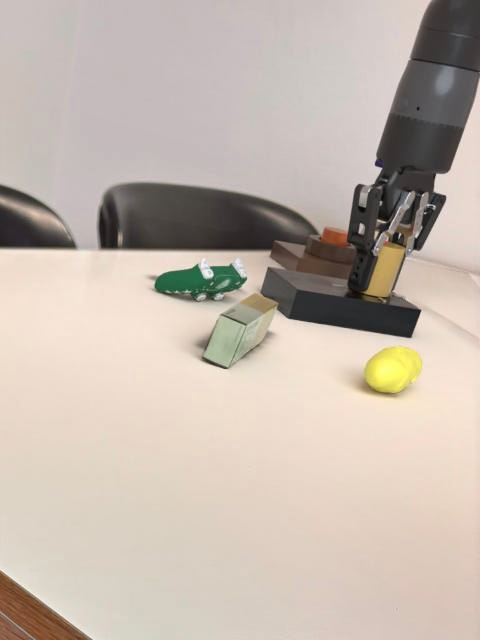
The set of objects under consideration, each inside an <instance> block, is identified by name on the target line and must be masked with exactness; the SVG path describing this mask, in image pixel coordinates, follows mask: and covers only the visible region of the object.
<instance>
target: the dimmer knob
mask: <svg viewBox="0 0 480 640" xmlns="http://www.w3.org/2000/svg"><path fill="white" fill-rule="evenodd" d="M374 241H375V239H374ZM405 251H406V248H404V247H403V246H400V245H397V244H394V243H391V242H388V240H386V241H385V243H384V245H383V247H382V249H381V251H380V253H379V254H378V255H377V257H378V260H377V263H376V266H375V269H374V272H373V275H372V278H371V281H370V284H369V287H368V289H367V290H366V291H364V292H360V293H363V294H367V295H371V296H376V297H389V295H390V292H391V290H392V287H393V284H394V281H395V278H396V276H397V273H398V270H399V267H400V264H401V262H402V259H403V256H404V253H405ZM353 290H354V289H353ZM355 291H356V290H355ZM357 292H359V291H357Z"/></svg>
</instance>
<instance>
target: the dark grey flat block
mask: <svg viewBox="0 0 480 640" xmlns="http://www.w3.org/2000/svg"><path fill="white" fill-rule="evenodd" d="M347 283H348V280H345V279H339V278H333V277H327V276H321V275H316V274H310V273H304V272H298V271H292V270H287V269H285V268H280V267H279V268H278V267H273V266H267V268H266V272H265V275H264V279H263V282H262V286H261V289H260V292H259V293H260V294H259V295H261V296H262V295H263V296H264V297H266V298H268V299H271V300H273V301H275V302H277V303H279V304H278V307H277V309H276V310H278V311H279V312H281V313H282V314H283V315H284V317H286V318H287V319H289V320H297V321H302V322H308V323H309V322H310V323H315V324H322V325H328V326H333V327H340V328H345V329H346V328H347V329H351V330H352V329H353V330H357V331H358V330H359V331H364V332H365V331H367V332H371V333H378V334H384V335H389V336H390V335H391V336H396V337H403V338H408V339H412V338H413V335H414V332H415V330H416V327H417V323H418V321H419V319H420V316H421V313H422V309H421V308H420V307H418V306H416V305H415V304H413V303H412V302H410V301H409V300H407V299H406V298H407V297H406V296H405V295H400V294H397V293H396V292H394V290H393V291H391V292H390V295H389V297H376V296H371V295H367V294H363V293H360V292H357V291H355V290H353V289H351V288H349V287H348V285H347Z"/></svg>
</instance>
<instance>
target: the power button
mask: <svg viewBox="0 0 480 640" xmlns="http://www.w3.org/2000/svg"><path fill="white" fill-rule="evenodd" d="M347 235H348V230H345V229H341V228H338V227H332V226H324V227H323V231H322V234H321V240H323V241H325V242H329V243H333V244H337V245H342V246H349V243H347Z"/></svg>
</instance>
